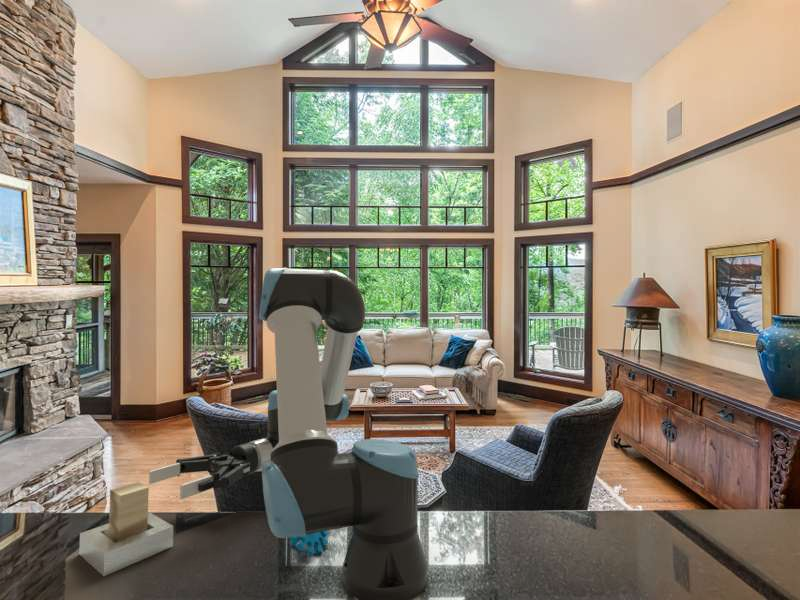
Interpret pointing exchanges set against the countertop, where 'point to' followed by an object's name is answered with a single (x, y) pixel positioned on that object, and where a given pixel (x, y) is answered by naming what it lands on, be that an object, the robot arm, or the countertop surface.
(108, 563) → the grey square frame block
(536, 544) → the countertop surface
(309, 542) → the blue lumpy piece
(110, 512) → the upright pine post
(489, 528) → the countertop surface
